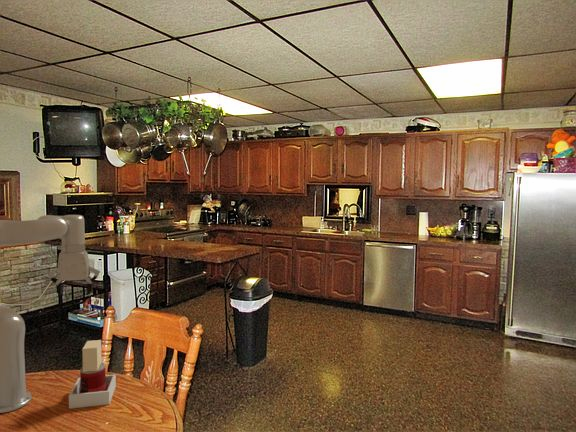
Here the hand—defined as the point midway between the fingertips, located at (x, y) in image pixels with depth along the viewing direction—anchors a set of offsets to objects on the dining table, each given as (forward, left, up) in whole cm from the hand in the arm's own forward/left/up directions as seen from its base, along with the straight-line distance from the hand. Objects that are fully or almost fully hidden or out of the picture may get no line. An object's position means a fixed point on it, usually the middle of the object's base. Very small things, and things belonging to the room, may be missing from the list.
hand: (74, 294), depth 149 cm
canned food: (+8, -14, -34) cm, 37 cm away
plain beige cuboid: (+8, -14, -22) cm, 27 cm away
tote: (+8, -14, -33) cm, 37 cm away
